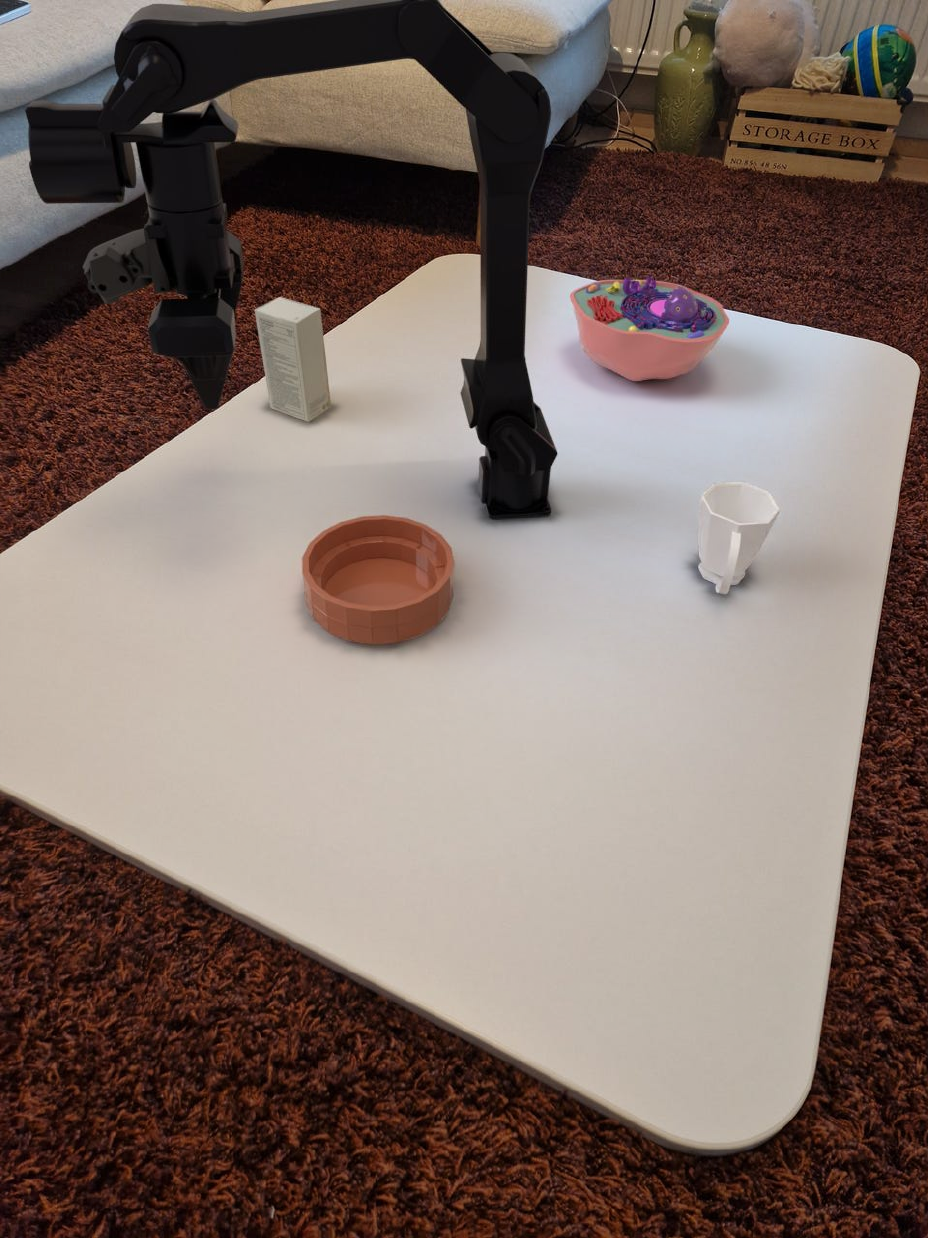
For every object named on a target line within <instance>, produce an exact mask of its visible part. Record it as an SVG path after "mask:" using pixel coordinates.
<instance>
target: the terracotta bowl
mask: <svg viewBox="0 0 928 1238" xmlns="http://www.w3.org/2000/svg"><path fill="white" fill-rule="evenodd" d="M302 555H303V556H302V557H301V573H302V582H303V590H304V599H305V605H306V608H307V610H308V612H309V613H310V615H311V617H312V619H313V621H314V622H315V623H317V624H318V625H319V626H320V627H321V628H323V629H324V630H325V631H327V632H328V633H329V634H331V635H334V636H336V637H339V638H341V639H342V640H346V641H350V642H352V643H353V642H355V643H360V644H361V643H362V644H368V645H383V644H385V645H386V644H396V643H401V642H405V641H407V640H410V639H414V638H417V637H420V636H422V635H424V634H426V633H427V632H428V631H430V630H432V629H434V628H435V627H436V626H438V625H439V624H440V622H441V621H443V619H444V618H445V617H446V615H447V614H448V613H449V612H450V611H451V610H450V609H451V607H452V603H453V599H454V595H455V593H454V591H455V589H454V588H455V558H454V555H453V549H452V547H451V545H450V544H449V543H448V541H447V540H446V539H445V537H443V535H442V534H441V533H439V532H438V531H436V530H434V529H433V528H432V527H430V526H429V525H428V524H425V523H422V522H420V521H417V520H413V519H410V518H408V517H401V516H395V515H394V516H393V515H385V514H380V515H367V516H366V515H365V516H364V515H363V516H358V517H355V518H351V519H347V520H343V521H340V522H338V523H336V524H334V525H332V526H330V527H328V528H326V529H324V530H323V531H321V532H320V533H318V534H317V536H316V537H315V538H313V539H312V540H311V541H310V542H309V543H308V545H307V547H306V549H305V551H304V554H302Z"/></svg>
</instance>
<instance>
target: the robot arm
mask: <svg viewBox="0 0 928 1238" xmlns="http://www.w3.org/2000/svg"><path fill="white" fill-rule="evenodd" d="M406 59H407V60H414V61H416V62H417V63H418V64H419V65H420V66H421V67H422V68H423V69H425V71H427V72H428V74H429V75H431V77H433V79H435V81H437V82H438V83H439V84H440V85H441V86H442V87H443V88H444V89H445V90H446V91H447V93H449V94H450V95H451V96H452V97H453V98H454V99H455V100H456V101H457V102H458V103H459V104H460V105H461V106H462V107H463V108H464V109H465V113H466V120H467V126H468V127H467V128H468V132H469V139H470V143H471V148H472V152H473V157H474V163H475V166H476V167H475V168H476V172H477V176H478V181H479V189H480V190H479V192H480V193H479V198H480V199H479V203H480V208H479V209H480V214H479V216H480V218H479V219H480V221H479V222H480V223H479V225H480V226H479V227H480V228H479V229H480V230H479V231H480V234H479V235H480V237H479V238H480V239H479V240H480V242H479V244H480V246H479V247H480V251H479V252H480V253H479V254H480V255H479V256H480V262H479V263H480V269H479V271H480V274H479V275H480V277H479V278H480V281H479V282H480V283H479V284H480V340H479V341H480V342H479V347H478V349H477V352H476V354H475V357H474V358H463V357H462V358H461V359H460V363H461V368H462V372H463V385H462V388H461V389H460V398H461V401H462V405H463V408H464V412H465V416H466V420H467V423H468V424H467V425H468V428H469V429H475V433H476V436H477V439H478V441H479V443H480V444H481V445H483V446H484V455H481V456H480V457H479V460H478V479H477V480H478V481H477V491H478V495H479V498H480V502H481V503H482V504H483V505H484V506H485V509H486V513H487V516H488V518H490V519H493V520H494V519H511V518H526V517H527V518H528V517H541V516H550V515H551V514H552V507H551V504H550V502H549V492H550V491H549V490H550V480H551V472H552V466H553V465H554V462H555V460H556V458H557V457H558V455H559V453H558V451H557V447H556V445H555V442H554V439H553V437H552V435H551V432H550V429H549V427H548V424H547V421H546V418H545V416H544V414H543V411H542V409H541V408H542V407H540V405H538V404H537V402H535V401H534V395H533V390H532V385H531V380H530V376H529V371H528V367H527V362H526V354H525V353H526V325H527V324H526V323H527V300H528V299H527V298H528V295H527V294H528V293H527V292H528V271H529V270H528V269H529V268H528V267H529V239H530V237H529V234H530V209H531V208H530V207H531V196H532V192H533V187H534V185H535V182H536V179H537V177H538V174H539V171H540V168H541V166H542V163H543V159H544V154H545V149H546V145H547V139H548V135H549V131H550V126H551V119H552V106H551V99H550V96H549V92H548V90H547V89H546V87H545V86H544V85H543V84H542V82H541V81H540V80H539V78H538V77H537V76H536V74H535V73H534V72H533V71H532V69H531V68H530V67H529V66H528V65H527V63H526V62H525V61H524V60H523V59H522V58H520V57H518V56H517V55H515V54H513V53H508V52H496V53H494V51H492V50H491V49H490V48H489V47H488V46H487V45H486V44H485V43H484V42H483V41H482V40H481V39H479V38H478V36H477V35H475V34H474V33H473V32H472V31H471V30H470V29H469V28H468V27H467V26H466V25H464V24H463V23H462V22H461V21H460V20H458V18H456V17H455V16H454V15H453V14H452V13H451V12H450V11H448V10H447V9H446V7H444V5H443V4H442V2H441V1H440V0H329V1H321V2H315V3H314V2H313V3H306V4H299V5H291V6H285V7H278V8H277V7H276V8H271V9H270V8H269V9H263V10H255V11H248V12H244V11H230V10H225V9H218V8H212V7H206V6H200V5H199V6H198V5H187V4H186V5H185V4H172V3H171V4H169V3H152V4H149V5H146V6H143V7H141V8H140V9H138V10H137V11H135V12H134V14H133V15H132V16H131V17H130V19H129V20H128V22H127V23H126V25H125V26H124V27H123V28H122V30H121V32H120V34H119V36H118V38H117V40H116V42H115V46H114V53H113V61H114V66H115V73H116V75H117V77H118V79H117V81H116V83H115V84H111V85H110V87H109V88H108V90H107V91H106V93H105V95H104V96H103V98H102V99H101V103H63V102H62V103H61V102H60V103H59V102H55V101H53V100H31V102H29V104H28V105H27V106H26V108H25V109H24V112H25V115H26V120H27V123H28V129H27V132H28V133H27V139H28V149H29V150H28V151H29V157H30V160H29V162H28V167H29V172H30V175H31V178H32V182H33V185H34V187H35V190H36V192H37V195H38V196H39V198H40V199H41V201H42V203H44V204H47V205H49V204H53V205H54V204H121V203H124V202H125V197H126V195H125V194H126V189H135V188H136V187H137V169H136V168H137V167H136V160H135V154H134V150H133V149H134V148H133V145H132V143H135V146H136V152H137V157H138V162H139V166H140V172H141V178H142V184H143V188H144V193H145V198H146V203H147V208H148V209H147V210H148V220H147V222H146V223H144V227H143V228H141V229H135V230H132V231H130V232H128V233H125V234H122V235H121V236H118V237H115V238H113V239H110V240H107V241H105V242H103V243H100V244H98V245H97V246H95V247H93V248H92V249H90V251H89V252H88V253H87V256H86V258H85V261H84V262H83V265H82V269H83V271H84V272H83V274H84V275H85V278H86V279H87V283H88V284H87V289H88V291H89V292H90V293H93V294H98V295H99V296H100V297H101V299H102V301H103V302H104V303H105V304H107V305H109V304H113V303H116V302H118V301H119V300H120V298H121V297H124V296H126V295H130V294H132V293H134V292H136V291H139V290H141V289H144V288H147V287H149V286H150V285H152V286H153V292H154V294H169V293H171V292H172V291H175V293H176V294H177V296H185V297H186V298H162V299H161V300H160V301H159V302H158V304H157V305H156V306H155V307H154V309H153V310H152V311H151V314H150V319H149V323H148V326H147V333H148V339H149V343H150V348H151V352H152V353H153V354H155V355H158V356H162V357H164V358H172V359H174V360H176V361H177V362H179V363H180V364H181V365H182V367H183V369H184V370H185V372H186V374H187V376H188V379H189V380H190V382H191V384H192V386H193V388H194V391H195V392H196V394H197V396H198V398H199V400H200V402H201V404H202V406H203V408H204V409H206V410H217V409H219V406H220V402H221V399H222V395H223V392H224V388H225V384H226V380H227V376H228V373H229V369H230V366H231V363H232V359H233V356H234V353H235V349H236V340H237V333H236V321H235V315H236V311H237V307H238V303H239V299H240V294H241V290H242V286H243V277H244V264H245V259H244V253H243V245H242V241H241V240H240V239H239V238H237V236H235V235H234V234H233V233H231V232H230V231H228V229H227V223H228V216H229V215H228V208H227V202H224V200H223V194H222V188H221V181H220V172H219V165H218V159H217V151H216V145H215V143H235V141H236V140H237V136H238V131H239V122H238V121H237V120H236V119H235V118H233V117H232V116H231V115H230V114H229V113H227V112H226V111H225V110H224V109H223V108H222V107H221V106H220V105H219V103H218V101H217V100H216V98H218V97H220V96H223V95H224V94H225V95H226V93H229V92H231V91H233V90H235V89H236V88H239V87H241V86H245V85H246V84H249V83H252V82H255V81H258V80H265V79H270V78H271V79H272V78H279V77H286V76H293V75H301V74H307V73H314V72H321V71H327V70H329V71H330V70H335V69H336V70H337V69H343V68H350V67H357V66H364V65H371V64H378V63H385V62H386V63H387V62H393V61H400V60H406ZM203 103H207V104H206V106H205V107H204V108H203V109H202V110H200V111H197V110H196V111H194V110H193V111H190V110H189V111H187V110H186V109H189V108H192V107H195V106H197V105H200V104H203ZM183 110H186V111H183ZM153 113H155V114H162V116H161V121H157V122H148V123H147V122H146V123H144V121H145V120H146V119H147V118H148V117H150V116H151V115H152V114H153ZM142 122H143V123H142Z"/></svg>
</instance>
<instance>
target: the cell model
mask: <svg viewBox="0 0 928 1238" xmlns="http://www.w3.org/2000/svg"><path fill="white" fill-rule="evenodd" d="M569 298H570V302H571V306H572V309H573V312H574V316H575V320H576V323H577V328H578V329H577V330H578V337H579V342H580V346H581V349H582V350H583V352H584V354H585V355H586V356H587V357H588V358H589V360H591V361H592V362H593V363H595V364H597V365H598V366H601V367H603V368H604V369H607V370H610V371H612V372H614V373H615V374H617V375H619V376H621V377H623V378H625V379H627V380H628V381H632V382H642V381H648V380H668V379H673V378H677V377H679V376H682V375H685V374H687V373H689V372H691V371H692V370H693V369H694V368H695V367H696V366H697V365H698V364H699V363H700V362H701V361H702V360H704V358H705V357H706V356H708V355H709V354H710V352H711V351H712V350H713V349H714V348H715V347H716V345H717V344H718V343H719V341H720V339H721V337H722V336H723V334H724V332H725V331H726V329H727V327H728V326H729V324H730V318H729V316H728V314H727V313H726V312H725V309H724V307H723V305H722V304H721V302H719V301H718V300H716V299H715V298H713V297H711V296H709V295H706V294H703V293H701V292H698V291H695V289H691V288H689V287H687V286H685V285H682V284H678V283H674V282H667V281H662V280H656V279H653V276H647V279H631V278H629V277H625V278H624V279H601V280H596V281H593V282H590V283H588V284H585V285H583V286H580V287H579V288H578V287H577V288H576V289H574V290H573V291H572V292H571V293H570V294H569Z"/></svg>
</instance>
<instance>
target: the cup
mask: <svg viewBox="0 0 928 1238" xmlns="http://www.w3.org/2000/svg"><path fill="white" fill-rule="evenodd" d="M772 495H773V494H771V492H770V491H768V490H765V489H763V488H760V487H758V486H755V485H753V484H749V483H746V482H745V481H728V482H727V481H726V482H714V483H713V484H712V485H710V487H709V488H708V489H706V490H705V491H704V493H702V494H701V495H700V506H699V523H698V536H697V537H698V539H697V541H698V555H699V560H700V562H699V564H698V566H697V569H698V570H699V572H700V574H701V576H702V578H703V580H706V581H709V582H711V583H713V584H715V592H716V593H718V594H721V595H727V594H728V593H729V590H730V588H731V586H738V585H739V583H740V582H741V581H742V580H743V579H744V577H746V570H747V569H748V568H749V567H750V566H751V564H752V562H753V561H754V559H755V558H756V556H757V555H758V553H759V552H760V551H761V549H762V546H763V544H764V543H765V541H766V539H767V537H768V534H769V533H770V531H771V529H772V527H773V526H774V523H775V522H776V520H777V519H778V516H779V514H780V512H781V510H782V508H781V507H780V506H779V504H778V502H777V501H776V500H775V498H774V497H773V496H772Z"/></svg>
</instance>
